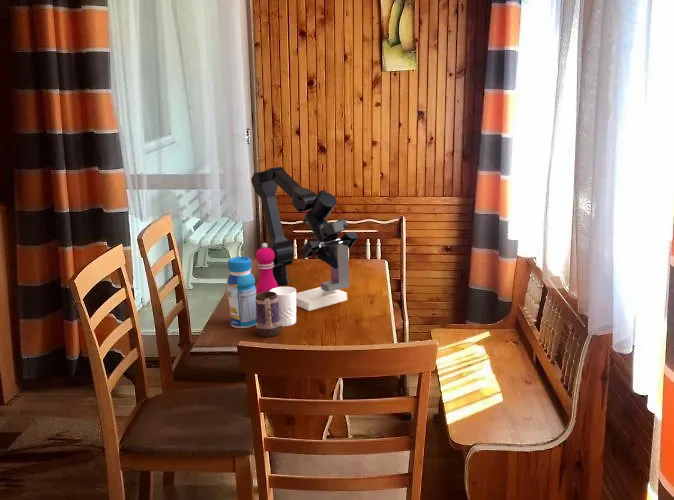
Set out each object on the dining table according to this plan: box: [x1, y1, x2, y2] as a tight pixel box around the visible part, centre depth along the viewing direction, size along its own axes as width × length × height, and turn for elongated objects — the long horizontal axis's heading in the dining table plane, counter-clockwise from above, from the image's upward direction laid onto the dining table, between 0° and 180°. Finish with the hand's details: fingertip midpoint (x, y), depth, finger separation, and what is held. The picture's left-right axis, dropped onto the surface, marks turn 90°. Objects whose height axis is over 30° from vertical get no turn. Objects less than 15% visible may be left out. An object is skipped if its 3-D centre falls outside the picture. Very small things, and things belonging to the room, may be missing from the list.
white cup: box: [270, 286, 297, 327], centre depth 220 cm, size 8×8×10 cm
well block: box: [296, 286, 348, 312], centre depth 239 cm, size 11×15×2 cm
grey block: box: [320, 244, 350, 292], centre depth 229 cm, size 4×8×13 cm, turn 127°
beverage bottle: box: [226, 256, 257, 329], centre depth 219 cm, size 8×8×20 cm
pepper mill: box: [255, 242, 279, 294], centre depth 237 cm, size 7×7×20 cm
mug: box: [255, 291, 282, 338], centre depth 211 cm, size 10×7×12 cm
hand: (342, 266), depth 229 cm, fingers closed on grey block, 4 cm apart
